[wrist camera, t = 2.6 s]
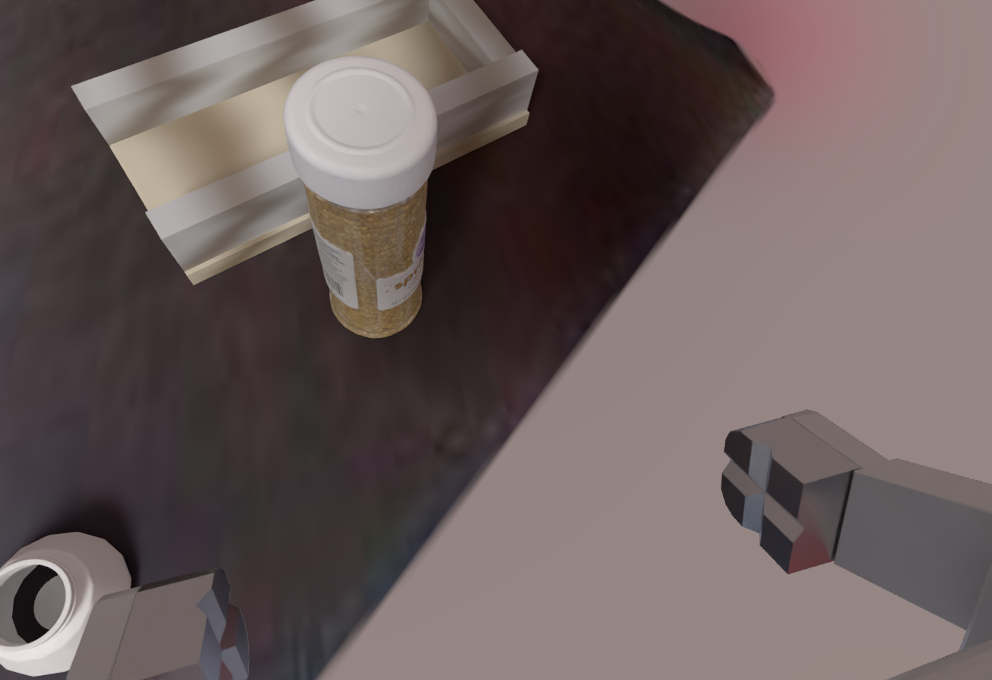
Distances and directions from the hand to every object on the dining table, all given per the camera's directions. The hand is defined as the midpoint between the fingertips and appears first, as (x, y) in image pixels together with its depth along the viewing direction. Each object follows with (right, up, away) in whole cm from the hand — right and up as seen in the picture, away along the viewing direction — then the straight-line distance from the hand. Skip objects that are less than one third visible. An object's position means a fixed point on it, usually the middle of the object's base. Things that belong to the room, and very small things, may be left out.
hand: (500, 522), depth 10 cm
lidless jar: (-17, -7, +15) cm, 24 cm away
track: (-9, +14, +24) cm, 29 cm away
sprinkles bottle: (-6, +5, +21) cm, 22 cm away
